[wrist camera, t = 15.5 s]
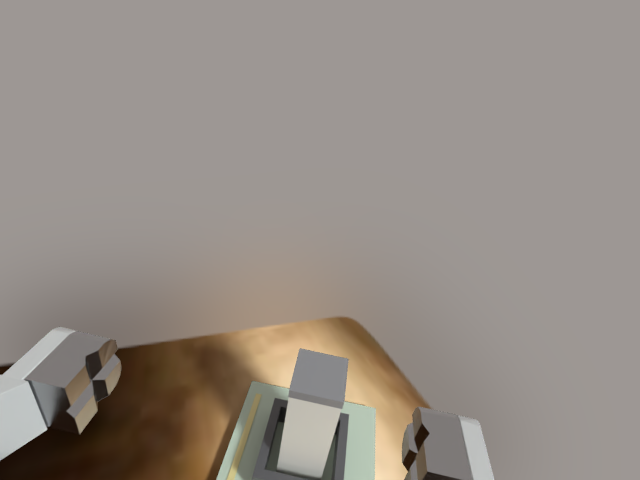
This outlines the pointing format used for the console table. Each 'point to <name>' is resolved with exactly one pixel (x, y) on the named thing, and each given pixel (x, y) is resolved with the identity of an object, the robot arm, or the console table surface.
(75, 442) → the console table surface
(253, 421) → the board
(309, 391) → the plug
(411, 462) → the robot arm
